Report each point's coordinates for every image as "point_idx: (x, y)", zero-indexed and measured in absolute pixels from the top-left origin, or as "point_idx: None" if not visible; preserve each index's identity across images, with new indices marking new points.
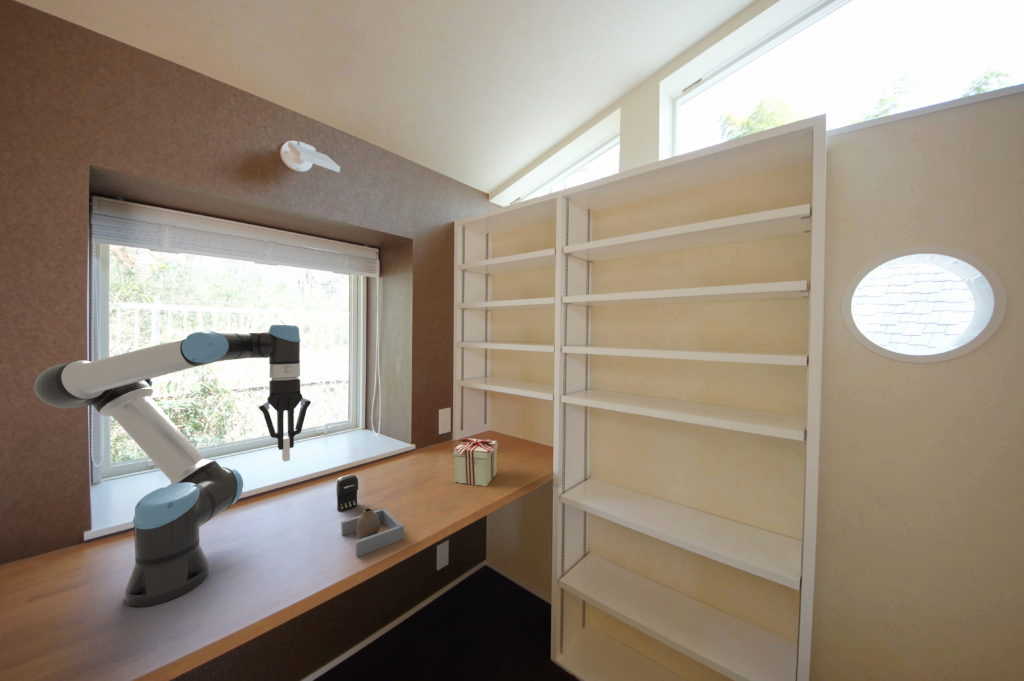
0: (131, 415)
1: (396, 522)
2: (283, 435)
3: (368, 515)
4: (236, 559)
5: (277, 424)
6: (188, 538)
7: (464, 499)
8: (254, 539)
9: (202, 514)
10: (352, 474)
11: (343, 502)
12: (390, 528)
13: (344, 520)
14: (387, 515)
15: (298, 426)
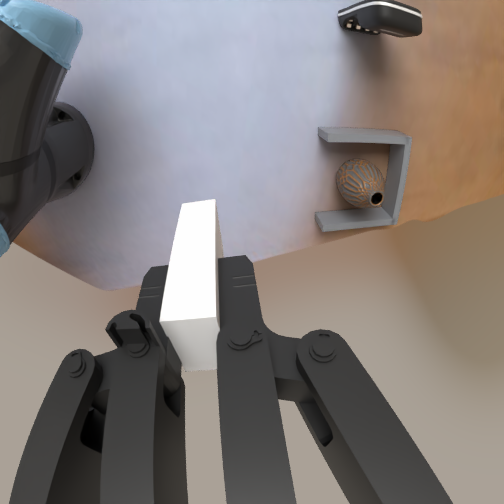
0: None
1: (396, 206)
2: (184, 395)
3: (369, 206)
4: (127, 112)
5: (113, 472)
6: (39, 206)
7: (488, 166)
8: (153, 46)
9: (28, 190)
10: (418, 10)
11: (357, 21)
12: (388, 176)
13: (335, 133)
14: (401, 170)
15: (320, 438)
